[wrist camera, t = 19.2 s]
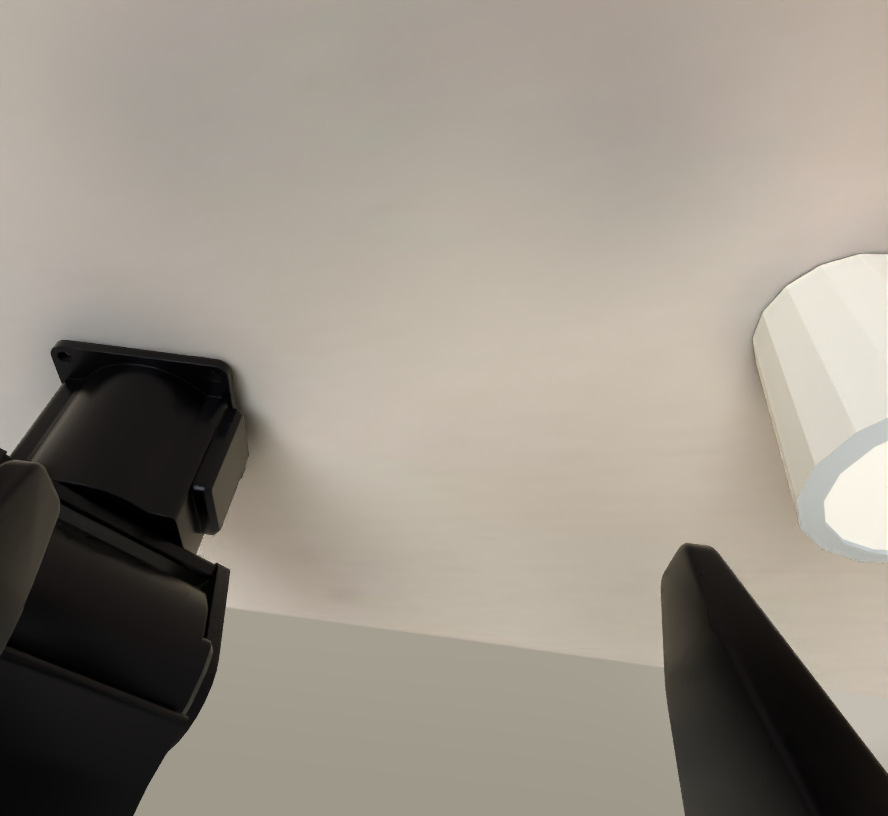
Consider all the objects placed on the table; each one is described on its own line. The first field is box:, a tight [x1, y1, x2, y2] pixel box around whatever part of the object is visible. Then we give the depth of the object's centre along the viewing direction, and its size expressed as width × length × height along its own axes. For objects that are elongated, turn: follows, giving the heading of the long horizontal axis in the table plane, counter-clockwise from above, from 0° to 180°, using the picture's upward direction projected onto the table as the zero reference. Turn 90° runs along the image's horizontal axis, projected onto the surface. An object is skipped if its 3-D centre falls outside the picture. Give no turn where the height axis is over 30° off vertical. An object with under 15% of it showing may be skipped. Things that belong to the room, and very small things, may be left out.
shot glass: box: [752, 254, 888, 563], centre depth 19 cm, size 7×7×7 cm
